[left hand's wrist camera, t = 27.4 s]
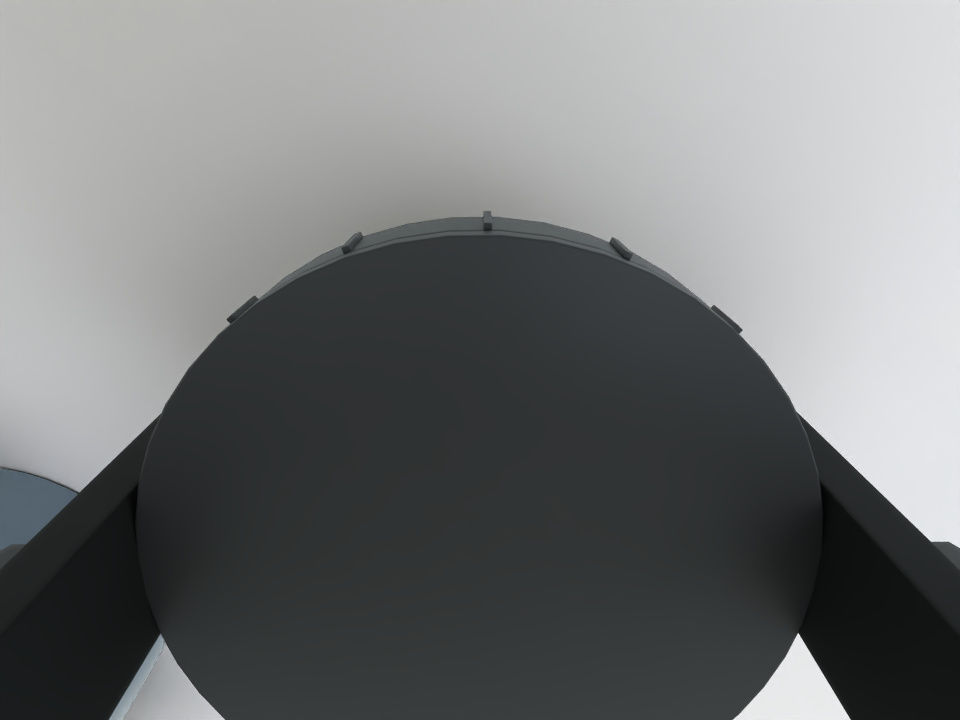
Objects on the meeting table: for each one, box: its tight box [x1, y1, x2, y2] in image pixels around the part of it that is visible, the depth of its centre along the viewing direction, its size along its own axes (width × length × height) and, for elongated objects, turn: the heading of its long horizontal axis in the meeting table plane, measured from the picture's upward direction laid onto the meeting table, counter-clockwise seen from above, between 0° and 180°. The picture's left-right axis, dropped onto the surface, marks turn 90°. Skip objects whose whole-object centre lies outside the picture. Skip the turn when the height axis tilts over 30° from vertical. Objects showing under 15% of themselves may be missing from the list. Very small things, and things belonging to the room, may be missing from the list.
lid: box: [135, 211, 823, 720], centre depth 11 cm, size 11×11×2 cm
